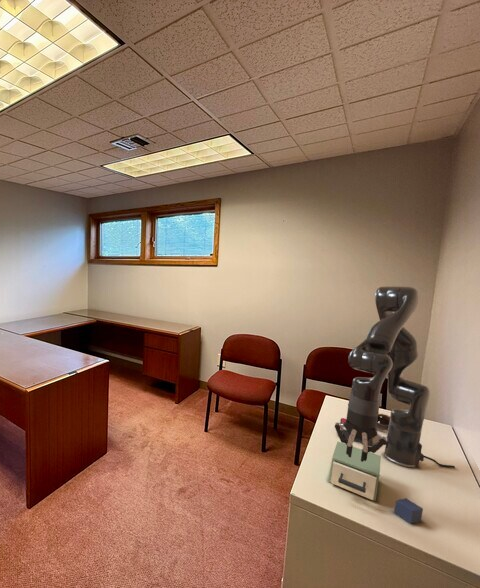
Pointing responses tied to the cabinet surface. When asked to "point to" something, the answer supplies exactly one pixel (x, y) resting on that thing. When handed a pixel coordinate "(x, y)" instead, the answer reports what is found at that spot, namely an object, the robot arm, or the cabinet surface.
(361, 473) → the drawer
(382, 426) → the pottery mug
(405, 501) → the block
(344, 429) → the red and grey box
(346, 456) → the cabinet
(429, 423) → the cabinet surface
